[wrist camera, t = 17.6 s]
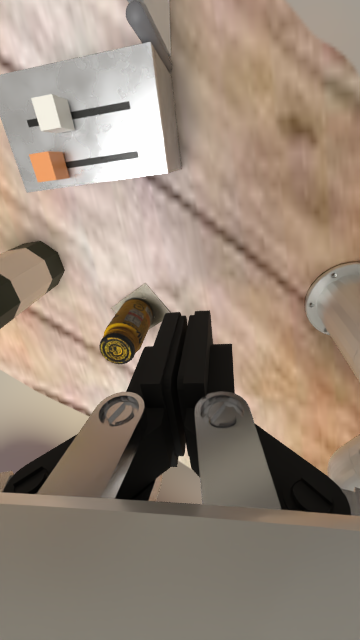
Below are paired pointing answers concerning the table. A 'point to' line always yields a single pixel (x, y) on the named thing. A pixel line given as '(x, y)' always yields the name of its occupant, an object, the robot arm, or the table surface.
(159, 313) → the condiment
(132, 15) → the door
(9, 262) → the wine bottle
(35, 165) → the fader
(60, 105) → the fader
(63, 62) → the white slider console
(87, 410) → the table surface
